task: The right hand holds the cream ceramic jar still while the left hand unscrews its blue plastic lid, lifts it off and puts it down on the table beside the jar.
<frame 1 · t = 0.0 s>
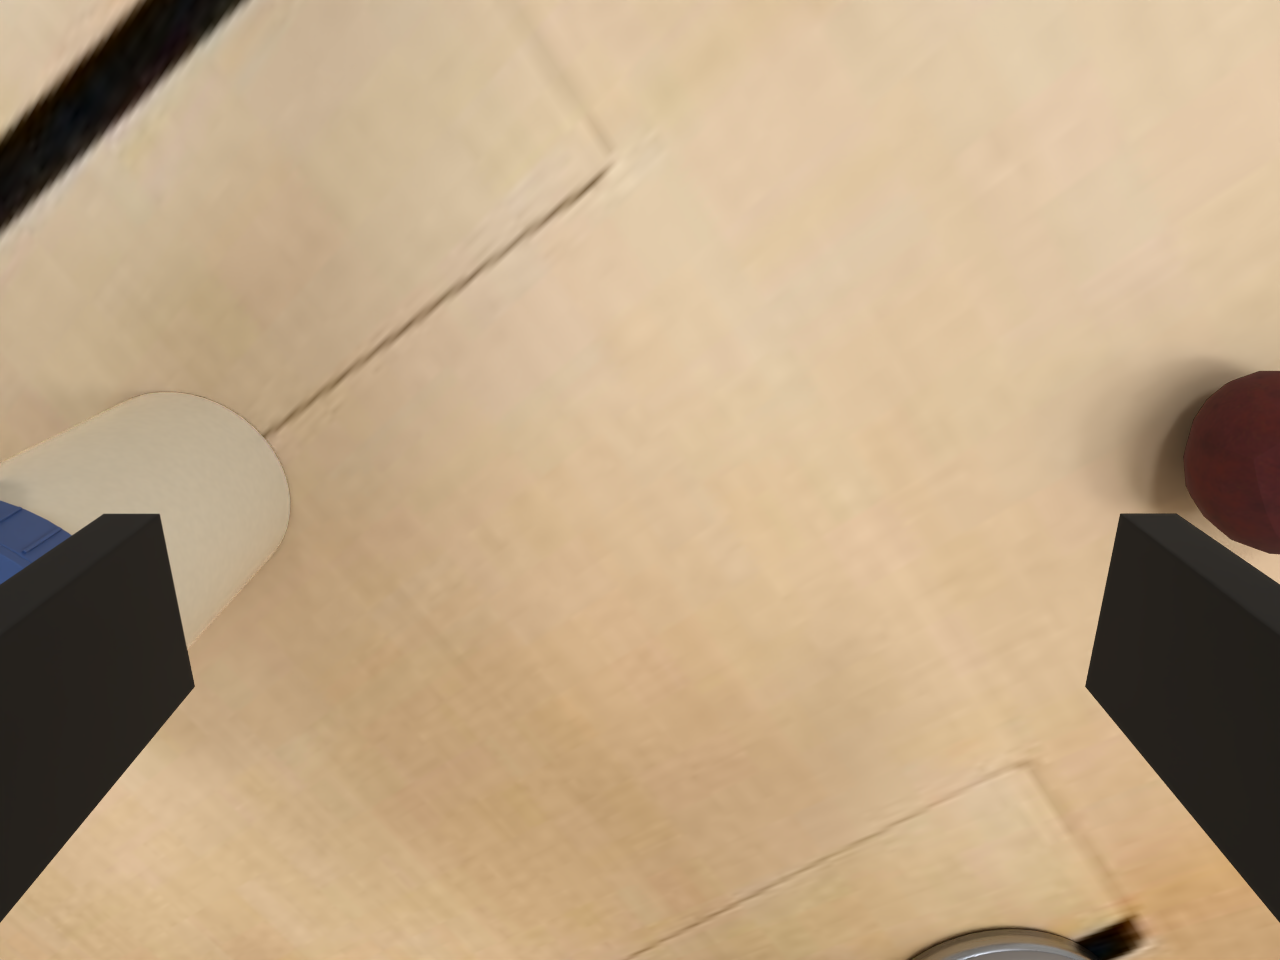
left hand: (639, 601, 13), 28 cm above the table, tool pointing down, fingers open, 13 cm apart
dark red rounded piece: (1229, 433, 41), on the table
jar: (186, 491, 42), on the table
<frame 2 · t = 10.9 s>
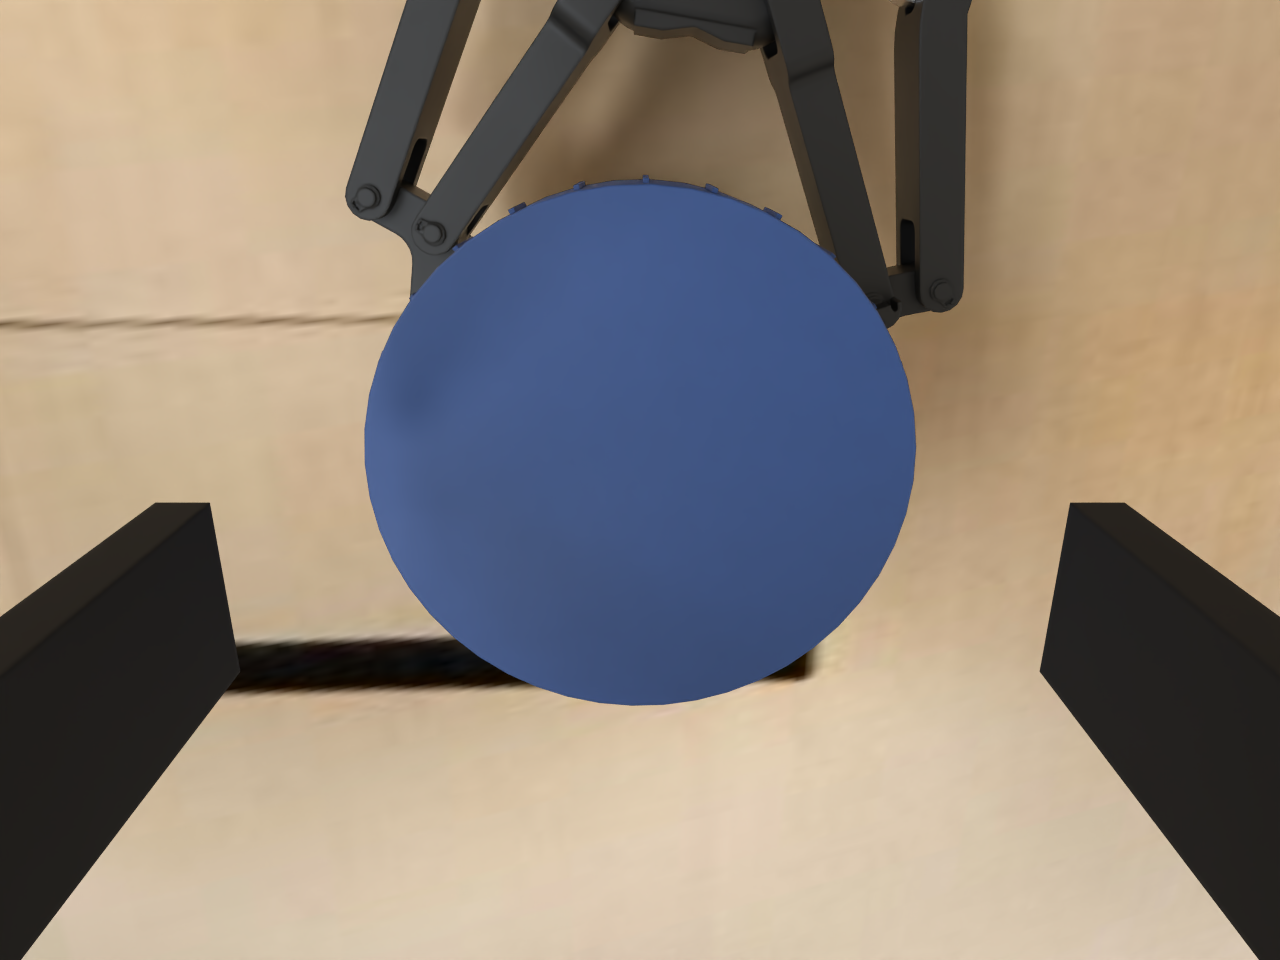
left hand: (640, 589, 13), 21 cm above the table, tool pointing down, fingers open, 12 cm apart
lid: (640, 467, 18), point 16 cm above the table, screwed on, not yet turned
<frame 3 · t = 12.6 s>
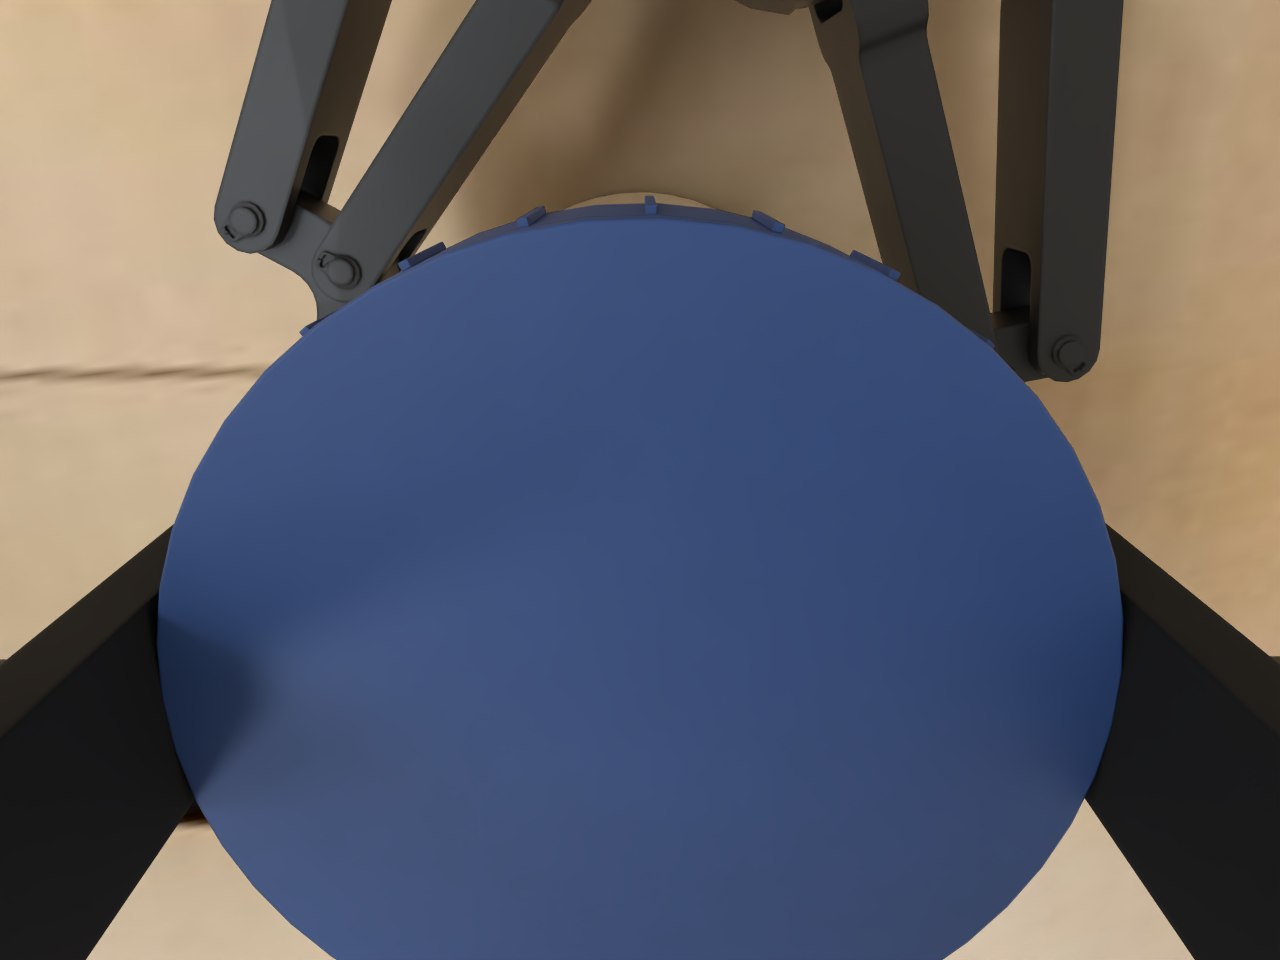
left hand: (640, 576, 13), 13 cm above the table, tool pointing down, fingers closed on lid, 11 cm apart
jar: (639, 373, 25), on the table, touching right hand
lid: (640, 695, 10), point 16 cm above the table, screwed on, not yet turned, touching left hand
when the left hand's fingers open (13 cm above the table, at t = 14.3 s): lid stays where it is, point 16 cm above the table.
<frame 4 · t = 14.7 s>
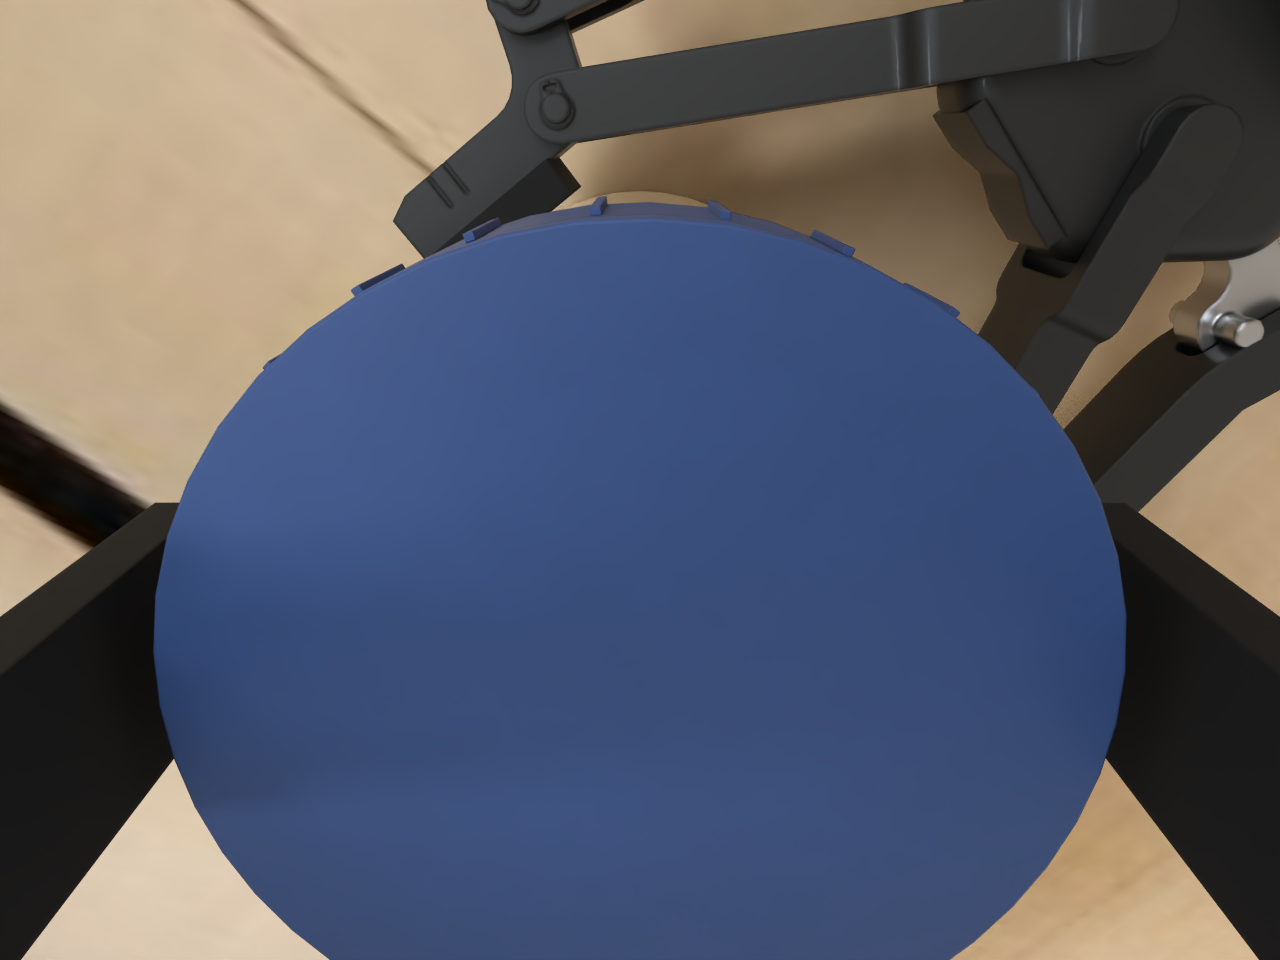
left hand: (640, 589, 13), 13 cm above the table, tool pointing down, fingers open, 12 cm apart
jar: (640, 370, 25), on the table, touching right hand
lid: (640, 697, 10), point 16 cm above the table, turned 89° so far, risen 0.3 cm, still on its thread
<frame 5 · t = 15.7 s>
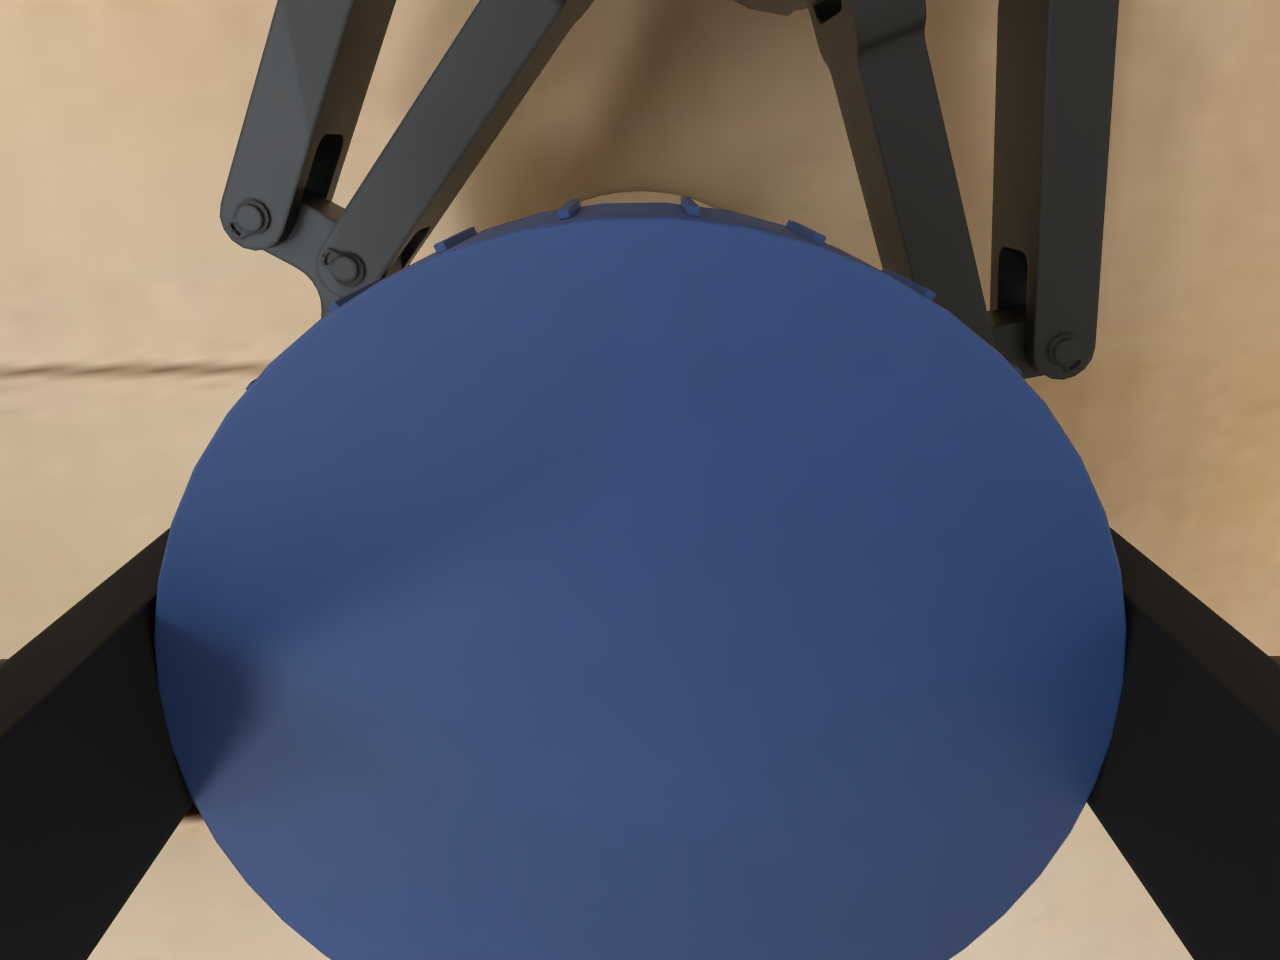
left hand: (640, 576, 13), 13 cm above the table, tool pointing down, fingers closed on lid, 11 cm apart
jar: (640, 370, 25), on the table, touching right hand
lid: (640, 697, 10), point 16 cm above the table, turned 89° so far, risen 0.3 cm, still on its thread, touching left hand
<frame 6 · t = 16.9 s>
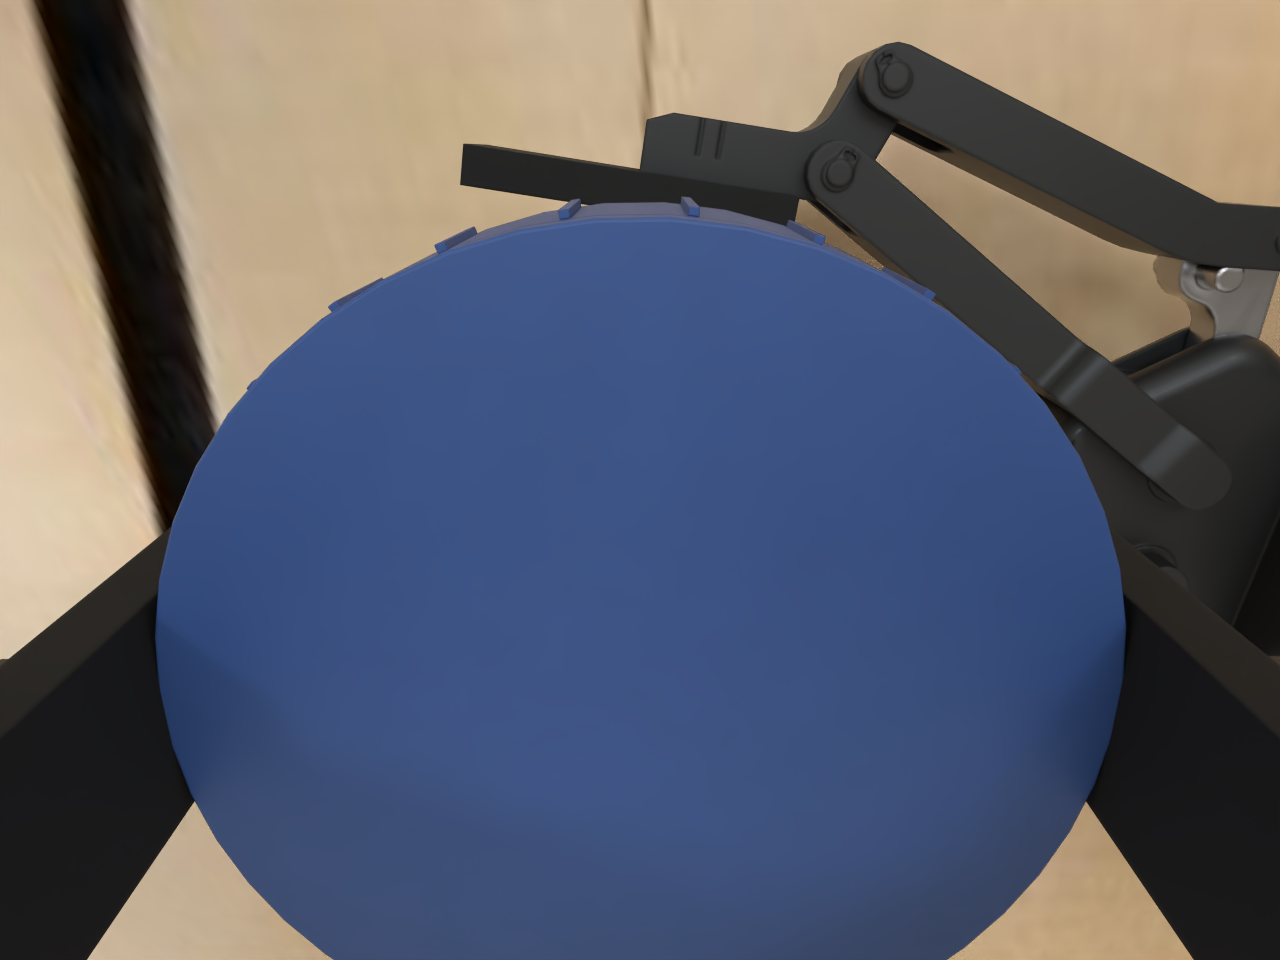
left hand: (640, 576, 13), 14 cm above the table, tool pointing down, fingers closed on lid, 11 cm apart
lid: (640, 696, 10), point 17 cm above the table, off its thread, touching left hand
when the left hand's fingers open (0 cm above the table, at t = 22.4 s): lid drops 1 cm, point 2 cm above the table.
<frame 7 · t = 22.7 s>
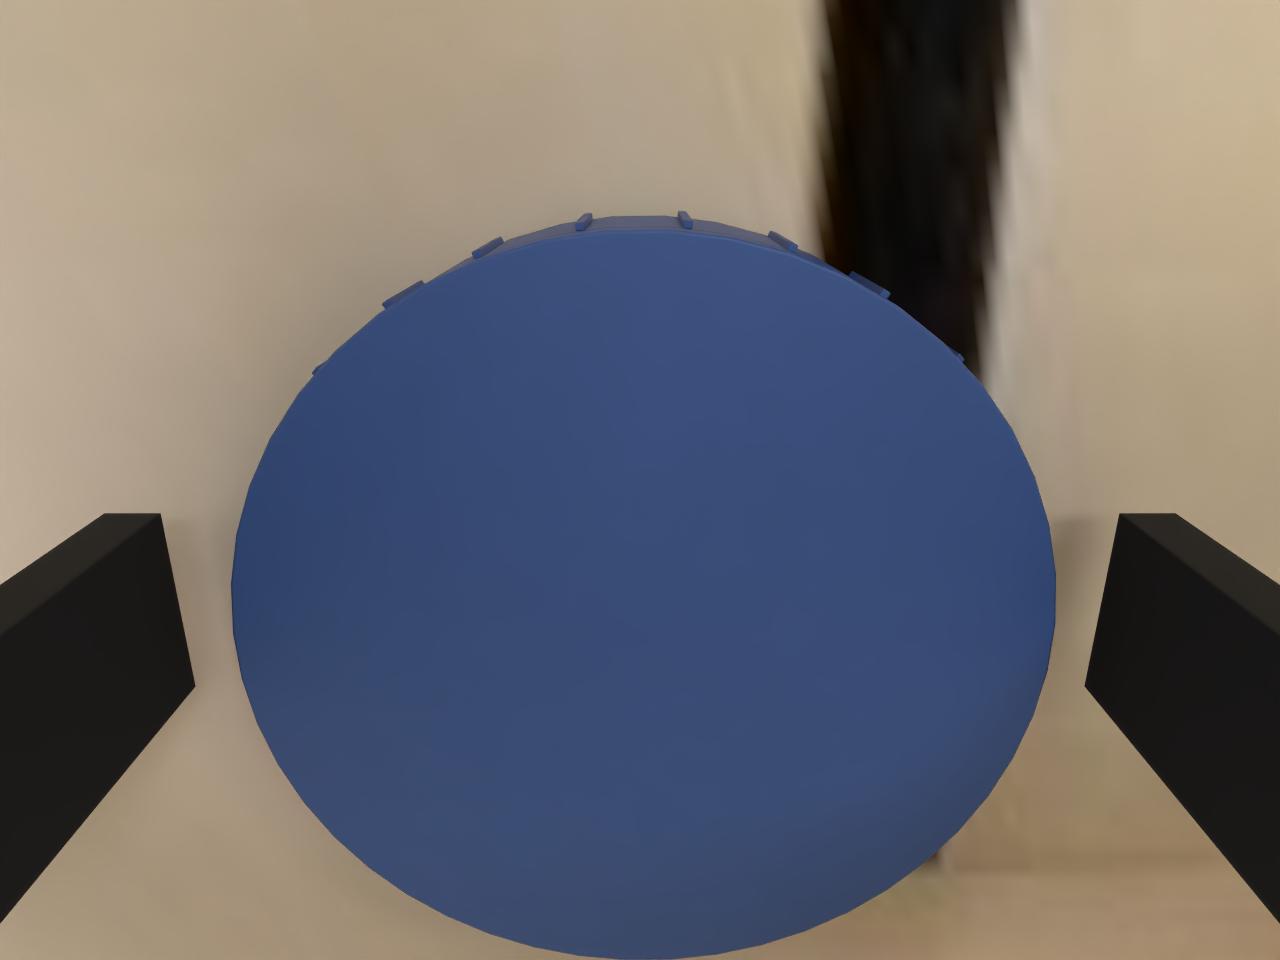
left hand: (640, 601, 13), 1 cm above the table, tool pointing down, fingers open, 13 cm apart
lid: (643, 638, 12), point 2 cm above the table, off its thread
when the right hand's fingers open (6 cm above the table, at t = 23.4 s): jar stays where it is, on the table.
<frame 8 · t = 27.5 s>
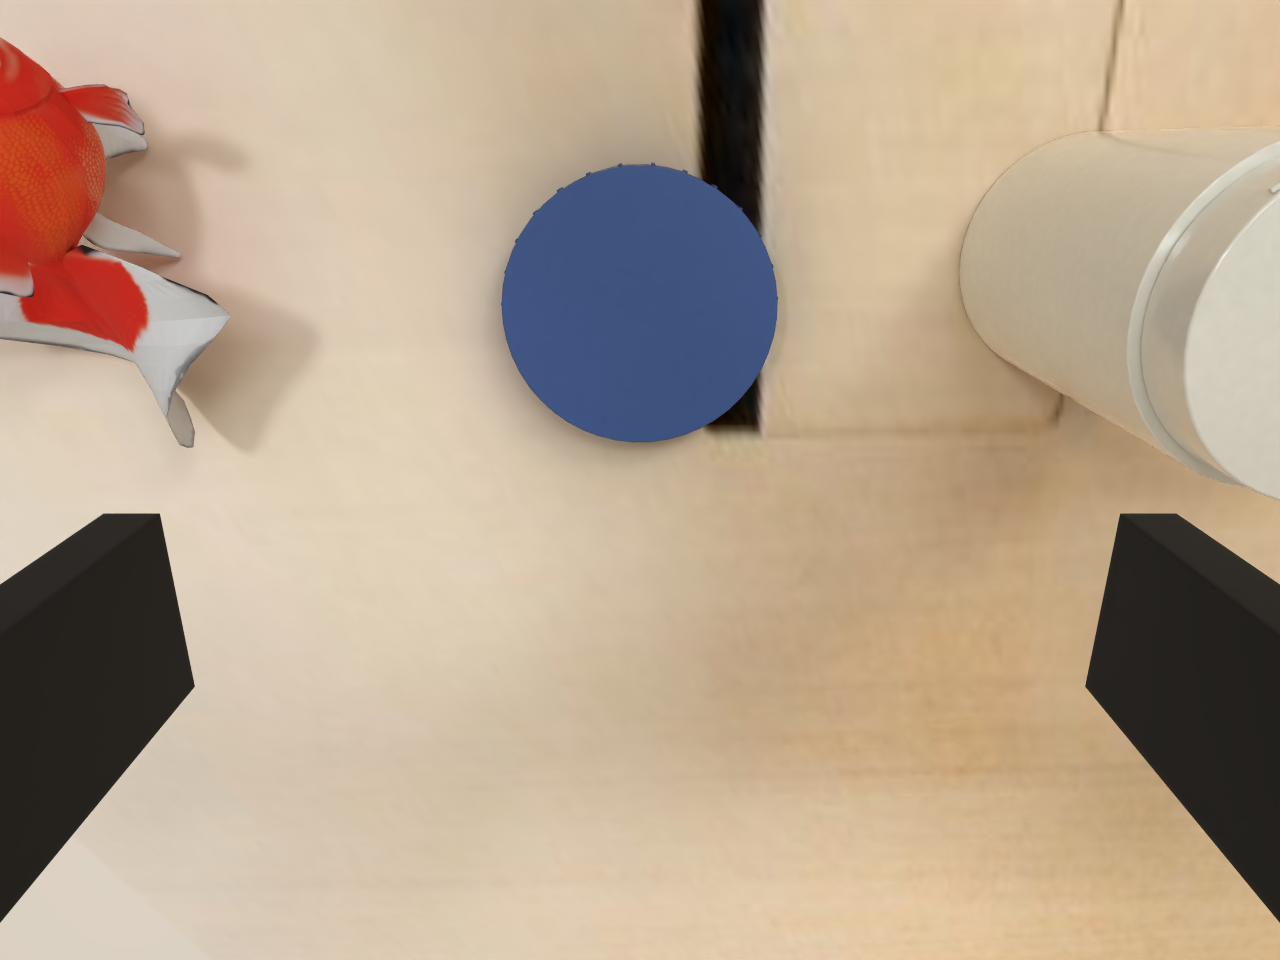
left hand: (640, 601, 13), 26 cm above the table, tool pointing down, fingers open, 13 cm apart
fish: (144, 246, 36), on the table
jar: (1079, 258, 36), on the table
lid: (639, 309, 35), point 2 cm above the table, off its thread
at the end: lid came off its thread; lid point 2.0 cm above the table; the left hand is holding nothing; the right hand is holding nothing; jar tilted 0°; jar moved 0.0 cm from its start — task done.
